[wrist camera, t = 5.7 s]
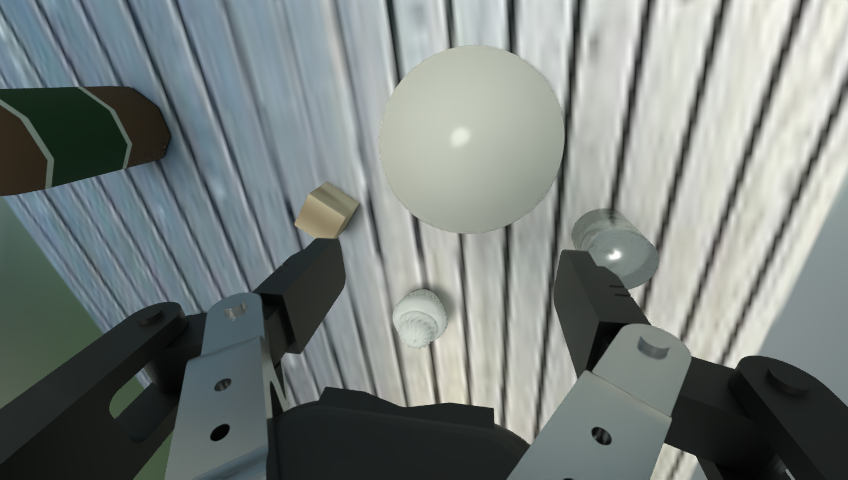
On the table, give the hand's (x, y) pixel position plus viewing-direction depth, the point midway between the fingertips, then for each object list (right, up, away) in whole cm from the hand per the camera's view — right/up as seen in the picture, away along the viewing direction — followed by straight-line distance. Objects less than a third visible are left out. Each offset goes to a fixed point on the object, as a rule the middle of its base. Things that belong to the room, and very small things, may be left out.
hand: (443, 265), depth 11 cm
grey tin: (+16, +2, +19) cm, 25 cm away
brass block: (-10, +5, +23) cm, 25 cm away
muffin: (-1, -6, +26) cm, 27 cm away
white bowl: (+3, +9, +17) cm, 20 cm away
